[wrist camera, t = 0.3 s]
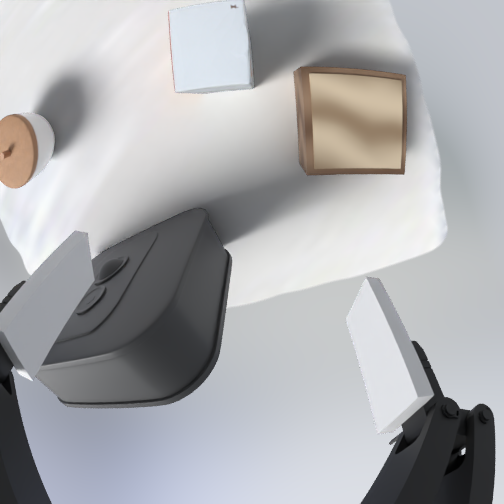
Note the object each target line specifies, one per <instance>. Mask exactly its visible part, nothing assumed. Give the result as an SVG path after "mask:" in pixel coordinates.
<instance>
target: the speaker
mask: <svg viewBox="0 0 504 504" xmlns="http://www.w3.org/2000/svg"><path fill="white" fill-rule="evenodd" d="M208 217H209V215H208V213H207V211H206V210H205V209H202V208H199V209H193V210H189V211H186V212H183V213H181V214H179V215H176V216H174V217H172V218H170V219H168V220H166V221H164V222H161V223H159V224H157V225H155V226H153V227H151V228H149V229H147V230H145V231H143V232H141V233H139V234H137V235H135V236H133V237H131V238H129V239H127V240H125V241H123V242H121V243H119V244H117V245H115V246H113V247H111V248H109V249H107V250H106V251H104V252H102V253H101V254H99V255H98V256H96V257H95V258H94V259H92V260H91V261H92V268H93V274H94V279H95V280H94V282H93V283H92V285H91V286H90V288H89V289H88V290H87V292H86V293H85V295H84V296H83V298H82V299H81V301H80V302H79V304H78V305H77V307H76V308H75V310H74V311H73V313H72V315H71V316H70V318H69V319H68V321H67V322H66V324H65V326H64V327H63V329H62V331H61V332H60V334H59V335H58V337H57V339H56V341H55V342H54V344H53V346H52V347H51V349H50V351H49V353H48V354H47V356H46V358H45V360H44V362H43V363H42V365H41V367H40V369H39V371H38V373H37V375H36V376H35V377H36V378H37V379H38V380H40V381H41V382H42V383H43V384H44V385H45V386H46V387H47V388H48V389H50V390H51V391H52V392H53V393H54V394H55V395H56V396H57V397H58V399H59V400H60V401H61V402H62V403H63V404H64V405H65V406H67V407H75V408H132V407H133V408H134V407H148V406H160V405H167V404H170V403H174V402H176V401H179V400H180V399H182V398H184V397H186V396H188V395H189V394H191V393H192V392H193V391H194V390H196V389H197V388H198V387H199V386H200V385H201V384H202V383H203V382H204V381H205V380H206V378H207V377H208V376H209V375H210V373H211V371H212V370H213V368H214V366H215V364H216V362H217V360H218V357H219V354H220V348H221V342H222V335H223V327H224V320H225V313H226V305H227V298H228V290H229V283H230V275H231V267H232V257H231V255H230V254H229V252H228V251H227V250H226V249H224V247H223V246H222V244H221V242H220V240H219V238H218V237H217V235H216V233H215V231H214V229H213V227H212V226H211V224H210V222H209V220H208Z"/></svg>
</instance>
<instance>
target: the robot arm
mask: <svg viewBox="0 0 504 504" xmlns="http://www.w3.org/2000/svg"><path fill="white" fill-rule="evenodd" d="M94 280H95V279H94V274H93V268H92V261H91V255H90V248H89V240H88V233H85V232H79V231H74V232H73V233H72V234H71V235H70V236H69V237H68V238H67V239H66V240H65V241H64V242H63V243H62V244H61V245H60V246H59V247H58V248H57V249H56V250H55V251H54V252H53V253H52V254H51V255H50V256H49V257H48V258H47V259H46V260H45V261H44V262H43V263H42V264H41V266H40V267H39V268H38V269H37V270H36V271H35V272H34V273H33V274H32V275H31V276H30V278H29V279H28V280H27V281H22V282H21V283H19V284H18V285H16V286H15V287H14V288H13V289H12V290H11V291H10V292H9V293H8V296H6V297H5V298H4V299H3V301H2V303H0V504H52V503H51V501H50V499H49V497H48V494H47V492H46V490H45V488H44V485H43V483H42V480H41V478H40V475H39V473H38V470H37V467H36V465H35V462H34V459H33V456H32V453H31V450H30V447H29V444H28V440H27V437H26V433H25V430H24V426H23V422H22V418H21V414H20V409H19V405H18V400H17V395H16V389H15V384H14V377H13V374H12V372H11V369H12V367H13V366H14V367H15V368H16V370H17V371H18V373H19V374H20V375H21V376H23V377H25V378H27V379H30V380H32V381H33V380H34V378H35V376H36V375H37V373H38V371H39V369H40V367H41V365H42V363H43V362H44V360H45V358H46V356H47V354H48V353H49V351H50V349H51V347H52V346H53V344H54V342H55V341H56V339H57V337H58V335H59V334H60V332H61V331H62V329H63V327H64V326H65V324H66V322H67V321H68V319H69V318H70V316H71V315H72V313H73V311H74V310H75V308H76V307H77V305H78V304H79V302H80V301H81V299H82V298H83V296H84V295H85V293H86V292H87V290H88V289H89V288H90V286H91V285H92V283H93V282H94ZM346 322H347V325H348V328H349V332H350V335H351V338H352V341H353V345H354V348H355V351H356V355H357V358H358V362H359V365H360V369H361V372H362V376H363V379H364V383H365V387H366V391H367V394H368V398H369V402H370V406H371V410H372V414H373V418H374V422H375V426H376V431H377V434H384V433H390V432H394V431H395V430H396V429H397V428H399V427H400V426H401V425H402V428H403V432H401V433H400V434H399V435H398V436H396V437H395V438H394V439H392V440H391V442H390V443H389V444H390V445H391V444H393V443H394V442H395V441H396V443H395V445H394V447H393V449H392V451H391V453H390V455H389V457H388V458H387V460H386V462H385V464H384V466H383V468H382V470H381V471H380V473H379V475H378V477H377V478H376V480H375V482H374V483H373V485H372V486H371V488H370V490H369V492H368V493H367V494H366V496H365V498H364V499H363V501H362V502H361V504H492V500H493V490H494V477H495V426H494V417H493V413H492V411H491V409H490V408H489V407H488V406H486V405H485V404H478V405H477V406H475V407H474V408H473V409H472V410H471V411H470V410H464V409H460V408H459V406H458V405H457V403H456V402H455V401H454V400H452V399H450V398H448V397H444V395H443V393H442V391H441V388H440V386H439V384H438V381H437V379H436V377H435V374H434V372H433V370H432V369H431V365H430V363H429V361H427V360H428V359H427V356H426V355H425V352H424V351H423V349H422V348H421V347H420V345H419V344H418V343H417V342H416V341H411V340H410V338H409V336H408V334H407V331H406V329H405V327H404V325H403V323H402V321H401V319H400V317H399V315H398V313H397V311H396V309H395V307H394V305H393V303H392V302H391V299H390V298H389V296H388V294H387V292H386V290H385V288H384V286H383V284H382V283H381V281H380V279H378V278H372V277H366V278H365V280H364V282H363V284H362V286H361V289H360V291H359V293H358V295H357V297H356V299H355V301H354V304H353V306H352V307H351V309H350V312H349V313H348V315H347V318H346ZM465 447H466V452H465V454H464V455H461V450H462V449H464V448H465Z"/></svg>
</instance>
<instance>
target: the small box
mask: <svg viewBox="0 0 504 504" xmlns="http://www.w3.org/2000/svg"><path fill="white" fill-rule="evenodd" d="M168 18H169V33H170V47H171V59H172V69H173V79H174V88H175V92H176V93H197V94H207V93H214V92H224V91H234V90H246V89H254V76H253V63H252V51H251V41H250V34H249V28H248V22H247V14H246V8H245V2H244V0H225V1H217V2H210V3H203V4H198V5H192V6H187V7H182V8H177V9H173V10H169V11H168Z"/></svg>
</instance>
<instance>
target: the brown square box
mask: <svg viewBox="0 0 504 504" xmlns="http://www.w3.org/2000/svg"><path fill="white" fill-rule="evenodd" d="M294 83H295V96H296V109H297V125H298V143H299V163H300V165H301V167H302V168H303V170H304V171H305V173H306V175H334V174H403V175H404V173H405V159H406V136H407V97H406V75H402V74H396V73H389V72H382V71H373V70H364V69H352V68H337V67H300V68H298V69H297V70H296V71H294Z"/></svg>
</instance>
